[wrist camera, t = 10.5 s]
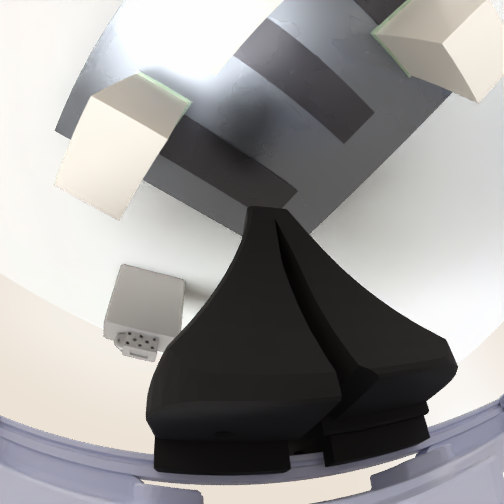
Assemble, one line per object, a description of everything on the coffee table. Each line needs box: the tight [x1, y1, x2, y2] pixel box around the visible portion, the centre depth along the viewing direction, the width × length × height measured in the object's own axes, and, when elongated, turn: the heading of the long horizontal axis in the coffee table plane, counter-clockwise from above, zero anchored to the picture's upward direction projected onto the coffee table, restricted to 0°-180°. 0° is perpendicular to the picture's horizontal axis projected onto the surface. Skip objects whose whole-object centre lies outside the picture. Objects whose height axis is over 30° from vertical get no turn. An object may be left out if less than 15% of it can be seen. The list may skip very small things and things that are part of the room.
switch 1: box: [54, 73, 188, 221], centre depth 9 cm, size 2×3×4 cm
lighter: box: [104, 264, 186, 362], centre depth 16 cm, size 7×2×8 cm, turn 67°
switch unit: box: [55, 0, 452, 236], centre depth 10 cm, size 13×15×1 cm
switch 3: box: [375, 0, 504, 104], centre depth 7 cm, size 2×3×4 cm
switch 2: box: [133, 0, 283, 76], centre depth 7 cm, size 2×3×4 cm
